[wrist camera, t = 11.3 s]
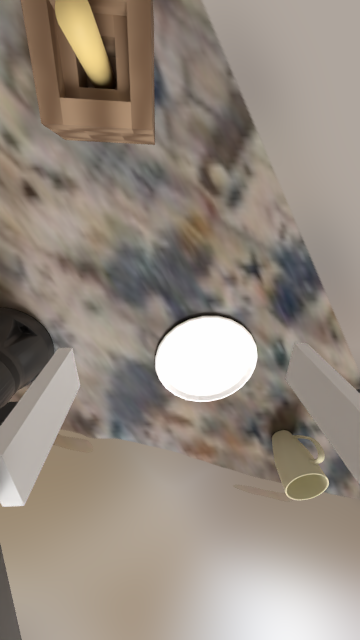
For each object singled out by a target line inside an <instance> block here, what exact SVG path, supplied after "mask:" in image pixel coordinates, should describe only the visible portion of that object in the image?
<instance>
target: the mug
mask: <svg viewBox="0 0 360 640" xmlns="http://www.w3.org/2000/svg"><path fill="white" fill-rule="evenodd" d="M297 438H304V439H309V440H311V441H312V442H313V443H314V445H315V446H316V448H317V451H318V458H317V459H314V458H313V456H312V455H311V454H310V452H309V451H308V450H307V449H306V448H305V446H304V445H303V444H302V443H300V442H299V441H298V440H297ZM272 445H273V453H274V460H275V464H276V468H277V471H278V473H279V476H280V479H281V482H282V485H283V487H284V490H285V493H286V495H287V496H288V497H289V498H291V499H294V500H307V499H311V498H314V497H316V496H318V495H320V494H321V493H323V492H324V491H325V490H326V488H327V487H328V484H329V481H328V478H327V477H326V475H325V474H324V472H323V471H322V469H321V468H320V467H319V465H318V464H319V463H321V462H322V461H323V460H324V458H325V455H324V451H323V449H322V447H321V446H320V444H319V443H318V442H317V441H316V440H315V439H313V438H311V437H307V436H300V435H296V436H293V435H292V434H291V433H290V432H289V431H286V430H282V431H278V432H276V433H275V434H274V435H273V436H272Z"/></svg>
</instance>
